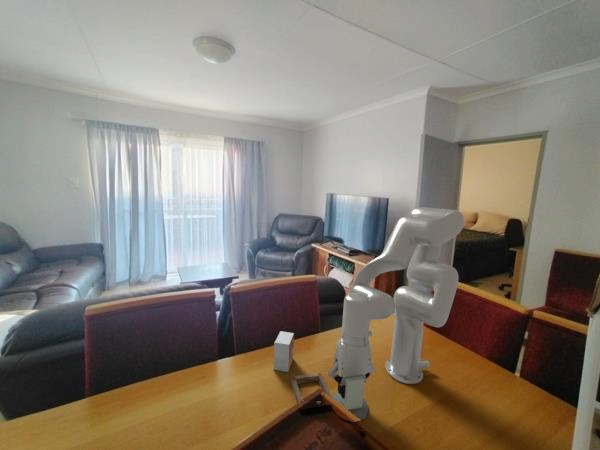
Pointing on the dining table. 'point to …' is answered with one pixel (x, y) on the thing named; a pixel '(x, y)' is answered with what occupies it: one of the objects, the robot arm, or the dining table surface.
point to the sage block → (353, 392)
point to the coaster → (358, 412)
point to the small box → (283, 351)
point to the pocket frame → (306, 379)
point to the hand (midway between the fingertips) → (350, 392)
